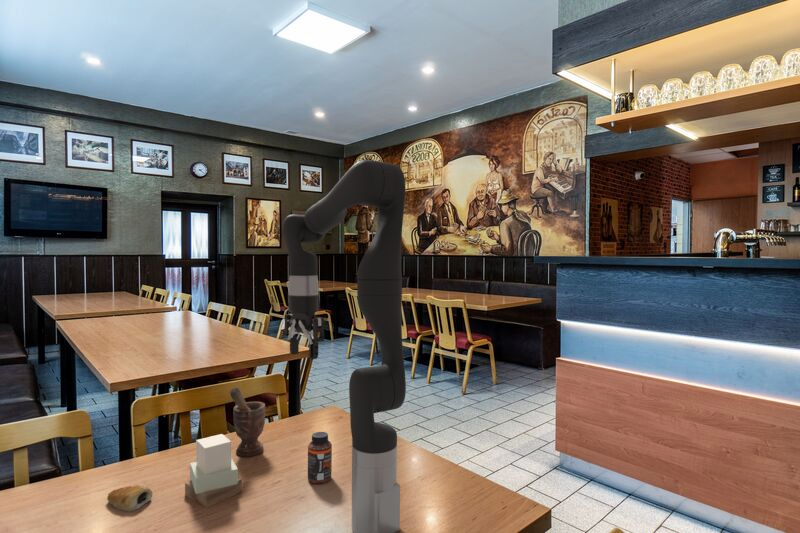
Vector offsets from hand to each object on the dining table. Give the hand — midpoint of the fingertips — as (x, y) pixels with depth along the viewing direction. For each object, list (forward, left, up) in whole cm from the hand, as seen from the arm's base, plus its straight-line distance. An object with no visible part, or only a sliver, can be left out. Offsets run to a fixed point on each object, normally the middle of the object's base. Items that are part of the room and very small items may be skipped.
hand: (303, 356), depth 120 cm
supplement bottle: (-6, -1, -30) cm, 31 cm away
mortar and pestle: (+20, +5, -30) cm, 37 cm away
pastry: (+14, +36, -31) cm, 50 cm away
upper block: (+6, +21, -27) cm, 35 cm away
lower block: (+6, +21, -31) cm, 38 cm away
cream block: (+6, +21, -24) cm, 32 cm away
